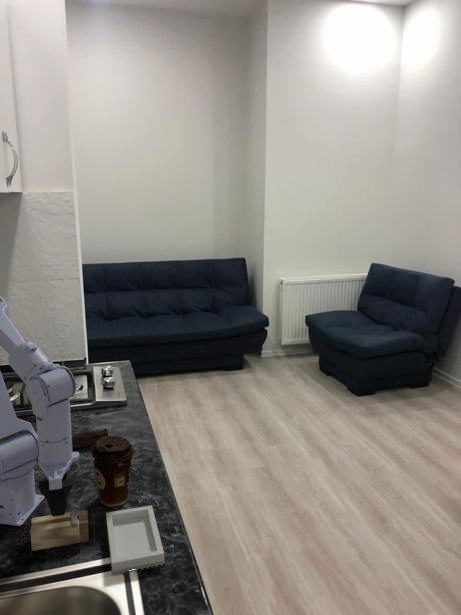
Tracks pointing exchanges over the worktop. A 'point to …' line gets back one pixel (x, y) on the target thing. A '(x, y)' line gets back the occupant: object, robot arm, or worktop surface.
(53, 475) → the robot arm
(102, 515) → the worktop surface
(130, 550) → the tray
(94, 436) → the hand tool
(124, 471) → the coffee cup
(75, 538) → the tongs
